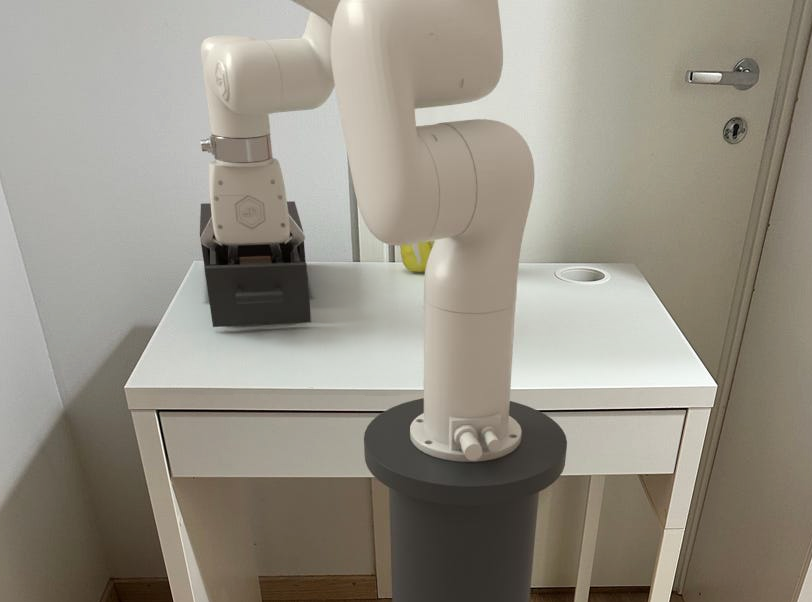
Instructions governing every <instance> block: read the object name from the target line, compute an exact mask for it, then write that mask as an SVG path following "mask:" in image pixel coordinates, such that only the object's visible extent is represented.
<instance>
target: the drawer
mask: <svg viewBox="0 0 812 602" xmlns="http://www.w3.org/2000/svg"><path fill="white" fill-rule="evenodd" d="M289 238H290V237H289ZM215 240H216V239H215ZM216 241H217V240H216ZM283 243H284V242H283ZM283 243H279V245H280V247H281V245H282V244H283ZM223 245H224V244H223ZM224 246H225V247H226V248H228V245H224ZM258 256H271V261H272V256H273V254H272V251H271V247H270V244H263V245H238V252H237V257H238V260H239V257H258ZM239 262H240V261H239ZM203 267H204V266H203ZM204 275H205V276H204V277H205V282H206V289H207V296H208V303H209V308H210V317H211V323H212V328H221V327H222V328H223V327H224V328H225V327H242V326H245V327H246V326H263V325H284V324H304V323H306V324H307V323H312V313H311V302H310V288H309V287H310V286H309V276H308V275H309V274H308V264H307V262H300V258H299V254H298V250H297V247H295V248H294V249H293V250H292V252H291V253H290V254H289V255H288V256H287V258H286V259H285V260H284V262H283V263H270V264H242V265H228V263H227V262H226V261H225V260H224V259H222V258H221V257H220V256H219V255H218V254H217V253H216V252H214V251H213V250H211V249H210V266H205V267H204Z"/></svg>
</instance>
